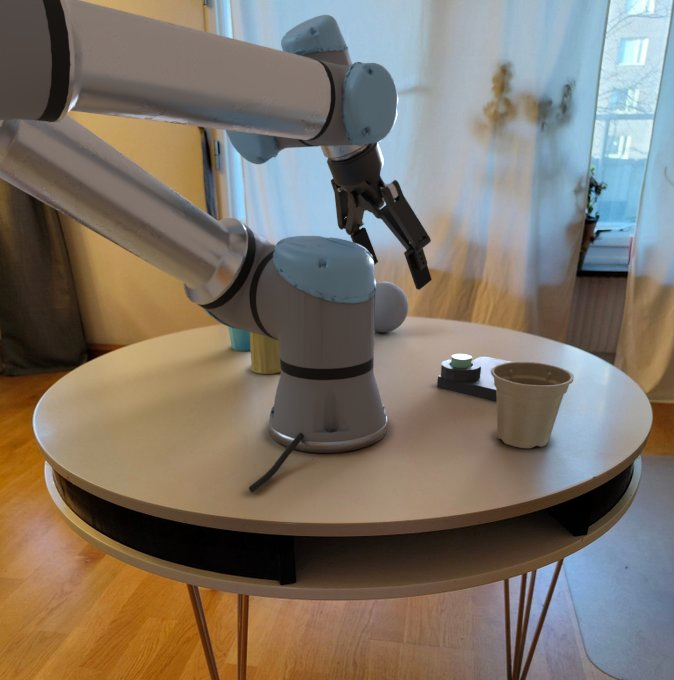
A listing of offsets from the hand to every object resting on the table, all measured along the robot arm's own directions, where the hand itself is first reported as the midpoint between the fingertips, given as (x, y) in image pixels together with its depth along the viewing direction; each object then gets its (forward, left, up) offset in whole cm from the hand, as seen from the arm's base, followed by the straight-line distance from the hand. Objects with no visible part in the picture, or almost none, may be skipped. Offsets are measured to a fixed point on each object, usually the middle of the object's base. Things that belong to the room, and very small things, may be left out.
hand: (396, 274), depth 100 cm
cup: (-10, +29, -15) cm, 34 cm away
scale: (+1, -19, -15) cm, 24 cm away
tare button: (-3, -15, -12) cm, 19 cm away
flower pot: (-16, -31, -15) cm, 38 cm away
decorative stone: (+16, +15, -15) cm, 26 cm away
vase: (-16, +15, -15) cm, 26 cm away
